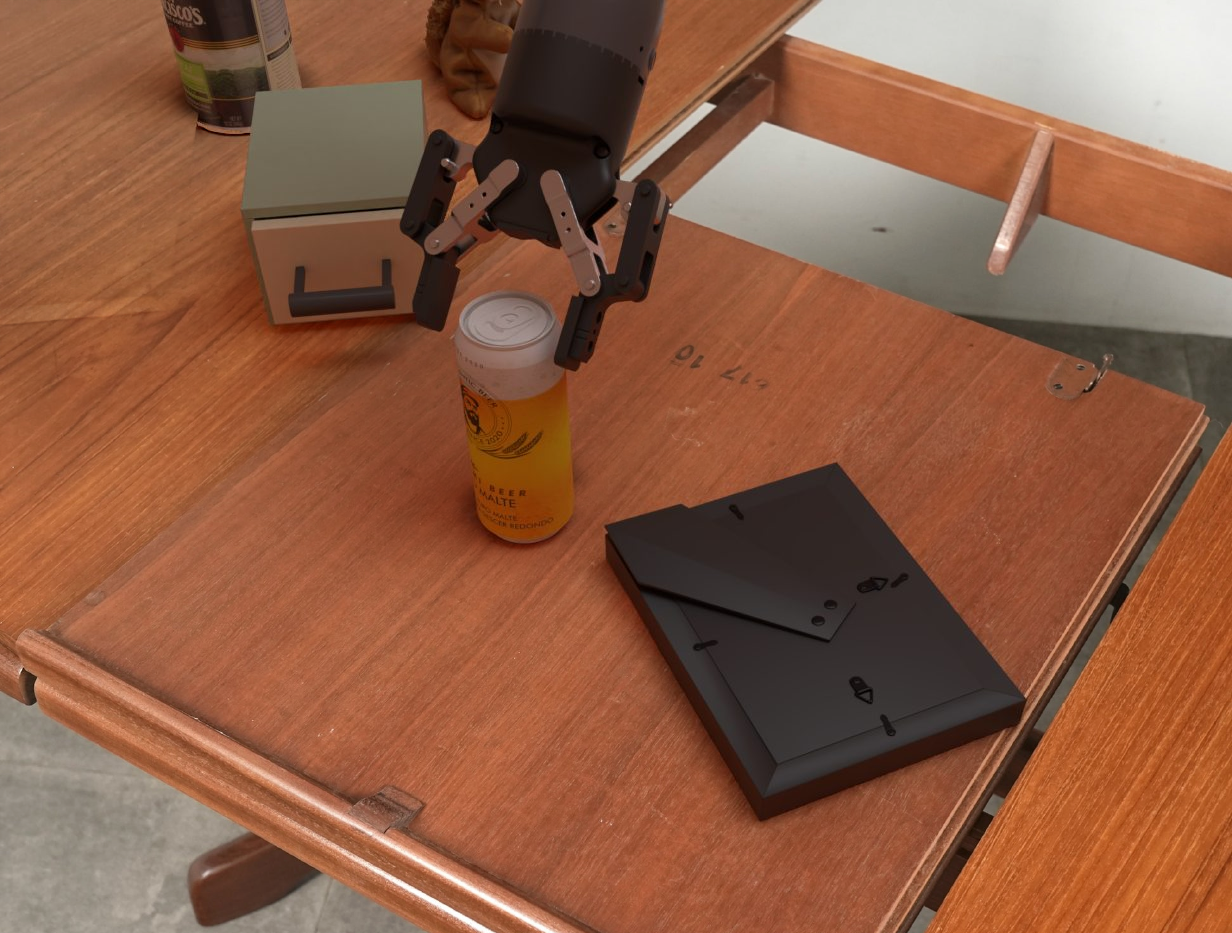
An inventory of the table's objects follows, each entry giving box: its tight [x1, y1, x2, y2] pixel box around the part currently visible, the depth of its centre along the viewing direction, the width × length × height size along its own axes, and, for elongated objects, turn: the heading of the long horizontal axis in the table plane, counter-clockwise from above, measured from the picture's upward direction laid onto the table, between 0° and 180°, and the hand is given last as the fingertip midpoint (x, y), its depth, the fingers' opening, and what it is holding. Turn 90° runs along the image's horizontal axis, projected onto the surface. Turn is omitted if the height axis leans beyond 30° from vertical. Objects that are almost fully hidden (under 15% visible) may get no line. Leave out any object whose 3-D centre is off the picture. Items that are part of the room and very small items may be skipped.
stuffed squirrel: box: [422, 0, 522, 119], centre depth 120 cm, size 10×14×13 cm
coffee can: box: [160, 0, 303, 132], centre depth 117 cm, size 10×10×14 cm
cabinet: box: [239, 79, 430, 327], centre depth 103 cm, size 17×13×10 cm
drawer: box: [251, 206, 424, 325], centre depth 100 cm, size 20×11×8 cm, turn 6°
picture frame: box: [604, 461, 1028, 822], centre depth 78 cm, size 16×3×21 cm
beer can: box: [453, 289, 575, 544], centre depth 81 cm, size 6×6×15 cm
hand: (495, 348), depth 75 cm, fingers open, 8 cm apart
